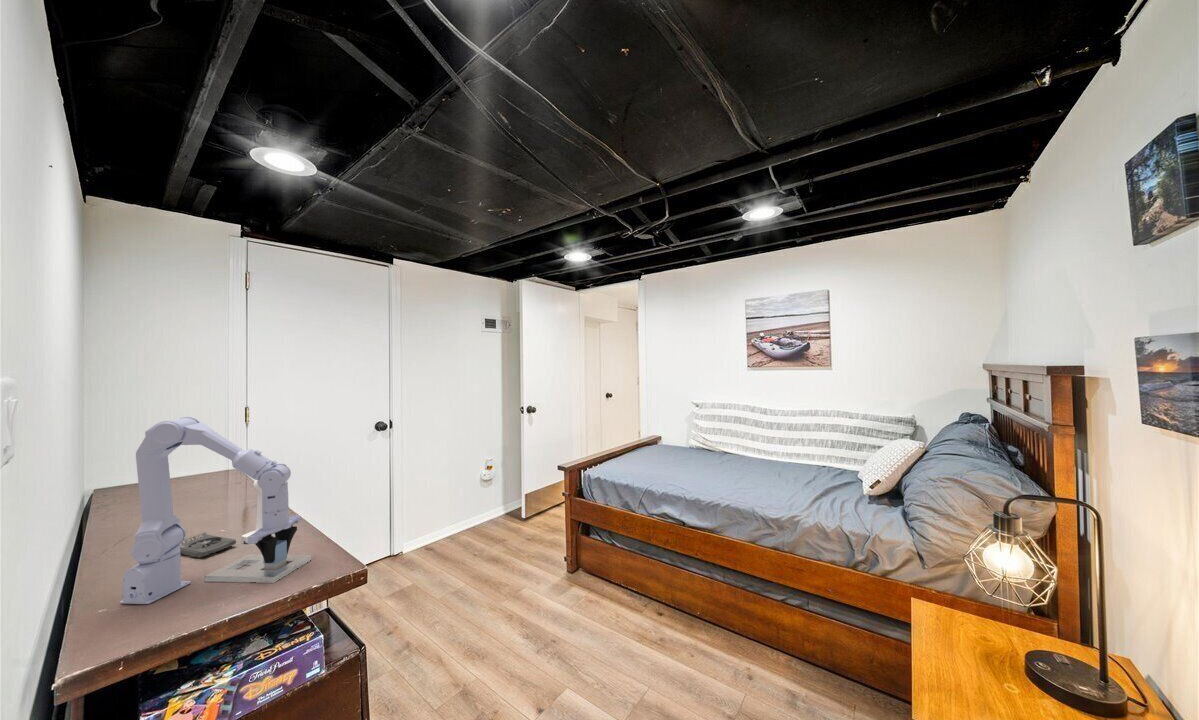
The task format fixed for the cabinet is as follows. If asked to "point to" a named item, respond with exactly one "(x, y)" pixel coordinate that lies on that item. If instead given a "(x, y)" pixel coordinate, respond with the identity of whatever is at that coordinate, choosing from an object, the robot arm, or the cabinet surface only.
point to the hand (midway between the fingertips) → (276, 558)
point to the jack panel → (255, 570)
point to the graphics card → (204, 545)
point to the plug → (278, 556)
